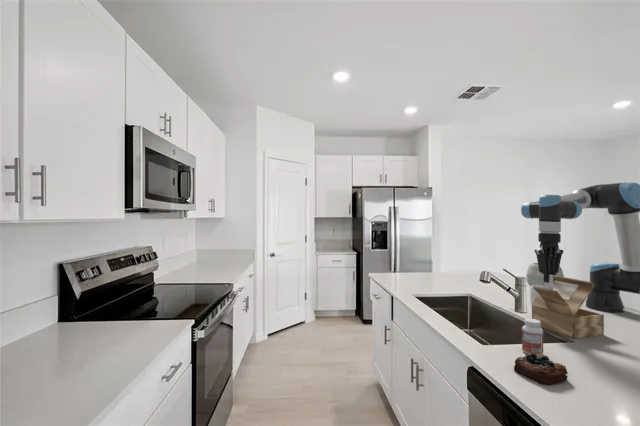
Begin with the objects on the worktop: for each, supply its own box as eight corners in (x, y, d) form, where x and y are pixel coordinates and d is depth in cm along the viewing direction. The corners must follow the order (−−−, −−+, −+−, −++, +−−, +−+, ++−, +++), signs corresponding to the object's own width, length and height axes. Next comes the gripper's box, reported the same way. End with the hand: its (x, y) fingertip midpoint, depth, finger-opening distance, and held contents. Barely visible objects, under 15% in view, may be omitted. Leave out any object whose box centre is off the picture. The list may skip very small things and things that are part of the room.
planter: (572, 312, 164) (572, 266, 164) (538, 312, 164) (539, 266, 164) (549, 303, 180) (550, 262, 180) (519, 303, 180) (519, 262, 181)
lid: (551, 277, 149) (540, 264, 147) (594, 285, 132) (582, 270, 130) (531, 305, 146) (520, 291, 144) (573, 317, 128) (560, 302, 127)
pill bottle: (529, 348, 119) (529, 316, 119) (547, 354, 114) (547, 321, 114) (518, 350, 116) (518, 319, 116) (536, 357, 111) (536, 324, 111)
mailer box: (559, 321, 150) (559, 303, 150) (603, 335, 133) (603, 314, 133) (531, 324, 146) (531, 305, 146) (573, 338, 128) (573, 318, 128)
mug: (537, 308, 170) (537, 283, 170) (563, 313, 161) (563, 286, 162) (526, 314, 161) (526, 286, 161) (553, 319, 152) (553, 291, 152)
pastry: (546, 388, 91) (546, 367, 91) (507, 369, 103) (507, 350, 103) (573, 382, 95) (573, 361, 95) (533, 364, 106) (533, 345, 106)
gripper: (552, 232, 142) (551, 288, 142) (528, 232, 139) (527, 289, 138) (570, 233, 135) (569, 291, 135) (545, 232, 131) (544, 293, 131)
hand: (548, 290), depth 137 cm, fingers closed
